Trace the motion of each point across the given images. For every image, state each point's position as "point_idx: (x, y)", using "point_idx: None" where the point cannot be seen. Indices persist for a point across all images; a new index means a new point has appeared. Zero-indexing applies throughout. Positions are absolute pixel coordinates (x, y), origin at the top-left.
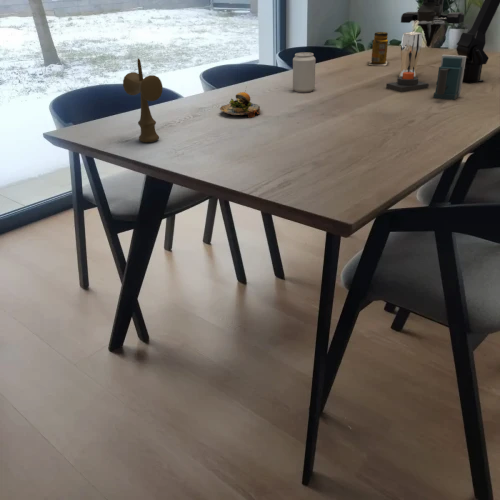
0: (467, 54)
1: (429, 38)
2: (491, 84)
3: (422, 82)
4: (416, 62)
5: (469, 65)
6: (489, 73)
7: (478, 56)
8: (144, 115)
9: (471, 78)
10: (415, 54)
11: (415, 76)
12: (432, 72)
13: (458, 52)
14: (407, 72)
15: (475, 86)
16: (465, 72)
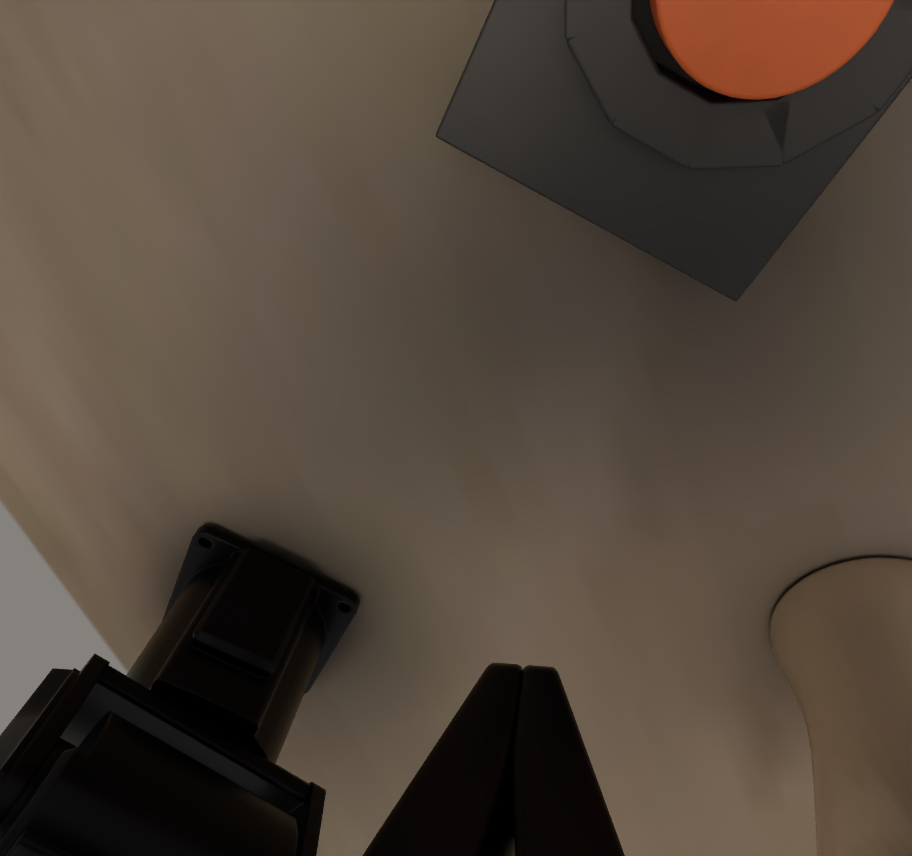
0: (93, 746)
1: (471, 840)
2: (72, 561)
3: (537, 170)
4: (818, 755)
5: (162, 669)
6: None
7: (6, 737)
8: None
9: (199, 584)
10: (871, 831)
11: (774, 621)
12: (670, 813)
13: (270, 839)
14: (810, 2)
15: (116, 454)
16: (218, 606)
